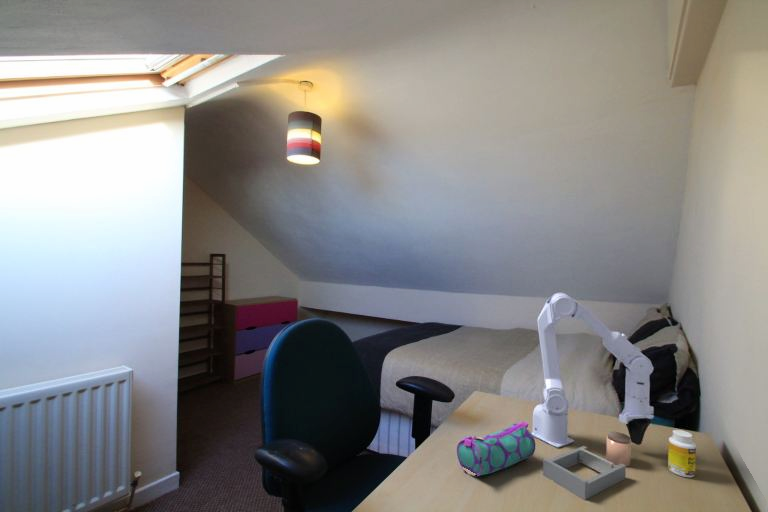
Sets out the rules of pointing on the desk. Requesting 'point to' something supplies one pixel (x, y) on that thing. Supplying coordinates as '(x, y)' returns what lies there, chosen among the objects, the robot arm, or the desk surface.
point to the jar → (618, 448)
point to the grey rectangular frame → (576, 484)
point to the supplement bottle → (682, 454)
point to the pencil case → (496, 449)
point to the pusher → (594, 461)
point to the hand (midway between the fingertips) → (636, 443)
